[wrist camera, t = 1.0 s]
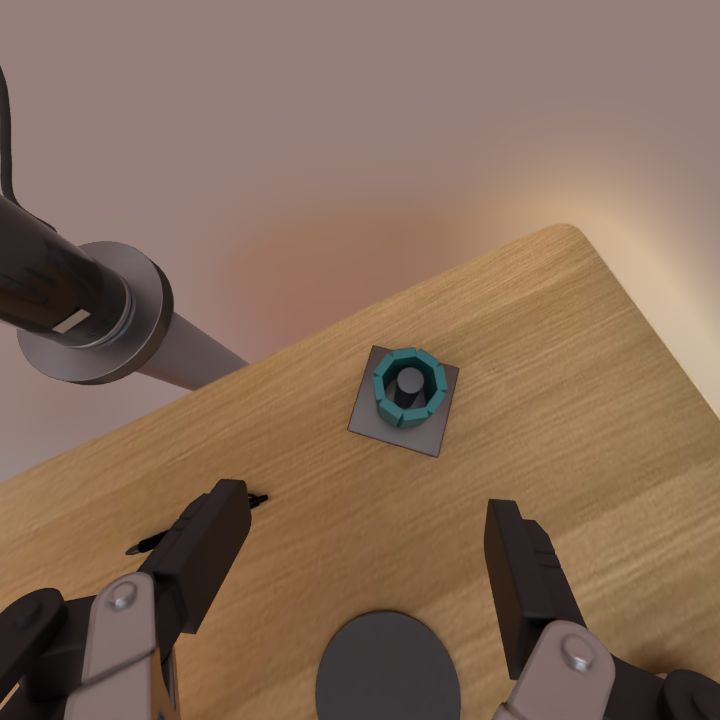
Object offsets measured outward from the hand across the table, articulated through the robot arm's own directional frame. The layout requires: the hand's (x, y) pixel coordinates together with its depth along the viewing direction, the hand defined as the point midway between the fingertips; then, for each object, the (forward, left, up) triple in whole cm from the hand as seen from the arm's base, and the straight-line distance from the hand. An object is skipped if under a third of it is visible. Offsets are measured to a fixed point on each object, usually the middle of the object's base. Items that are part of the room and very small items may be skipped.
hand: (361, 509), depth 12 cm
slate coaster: (+11, -13, -24) cm, 30 cm away
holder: (-2, +8, -24) cm, 25 cm away
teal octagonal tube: (-2, +8, -23) cm, 24 cm away
